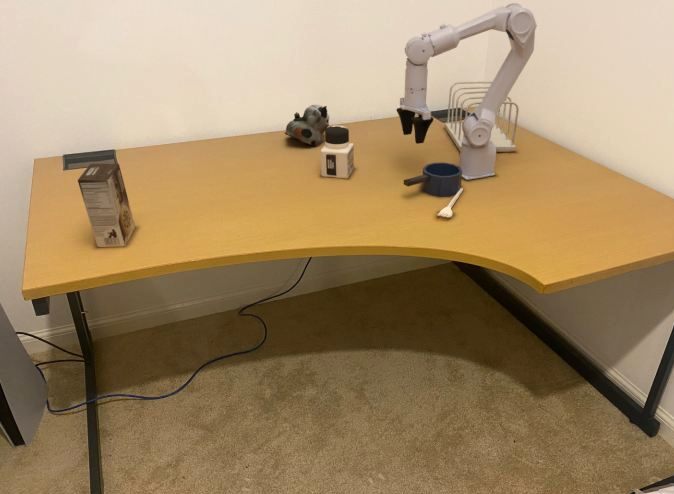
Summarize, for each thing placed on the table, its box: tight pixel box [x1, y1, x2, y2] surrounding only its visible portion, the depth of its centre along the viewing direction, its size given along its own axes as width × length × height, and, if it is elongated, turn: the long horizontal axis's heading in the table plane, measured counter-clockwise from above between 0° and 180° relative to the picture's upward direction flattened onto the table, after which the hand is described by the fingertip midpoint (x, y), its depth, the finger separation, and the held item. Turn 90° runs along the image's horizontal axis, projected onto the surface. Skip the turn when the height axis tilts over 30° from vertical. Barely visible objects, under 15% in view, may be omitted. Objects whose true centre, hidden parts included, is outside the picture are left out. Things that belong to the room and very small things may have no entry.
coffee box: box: [77, 163, 136, 248], centre depth 126 cm, size 9×6×16 cm
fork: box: [435, 187, 464, 219], centre depth 144 cm, size 3×20×2 cm, turn 157°
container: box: [320, 125, 355, 179], centre depth 159 cm, size 8×8×13 cm
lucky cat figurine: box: [284, 104, 330, 147], centre depth 182 cm, size 15×12×14 cm
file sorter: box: [444, 80, 520, 153], centre depth 182 cm, size 25×17×16 cm
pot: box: [403, 161, 463, 198], centre depth 151 cm, size 17×10×6 cm, turn 124°
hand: (413, 138), depth 156 cm, fingers open, 7 cm apart
